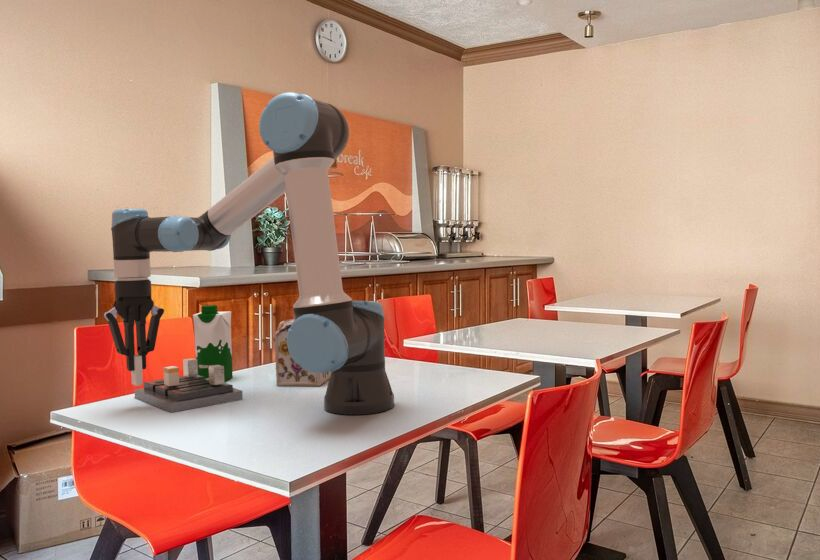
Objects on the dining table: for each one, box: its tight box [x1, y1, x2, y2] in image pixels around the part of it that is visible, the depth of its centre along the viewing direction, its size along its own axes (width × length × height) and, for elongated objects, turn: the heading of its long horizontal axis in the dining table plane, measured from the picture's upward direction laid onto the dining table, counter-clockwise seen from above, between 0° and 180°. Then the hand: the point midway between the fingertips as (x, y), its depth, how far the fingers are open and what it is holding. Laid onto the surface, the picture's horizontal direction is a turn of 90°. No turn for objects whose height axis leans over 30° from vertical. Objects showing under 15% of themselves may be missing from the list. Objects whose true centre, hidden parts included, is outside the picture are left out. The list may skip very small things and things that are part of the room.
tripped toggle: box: [162, 365, 180, 386], centre depth 161 cm, size 3×2×4 cm
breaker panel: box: [133, 357, 243, 413], centre depth 163 cm, size 21×17×8 cm
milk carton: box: [192, 304, 233, 383], centre depth 184 cm, size 9×9×20 cm
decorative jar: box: [274, 313, 331, 387], centre depth 179 cm, size 12×12×18 cm
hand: (137, 384), depth 156 cm, fingers closed
